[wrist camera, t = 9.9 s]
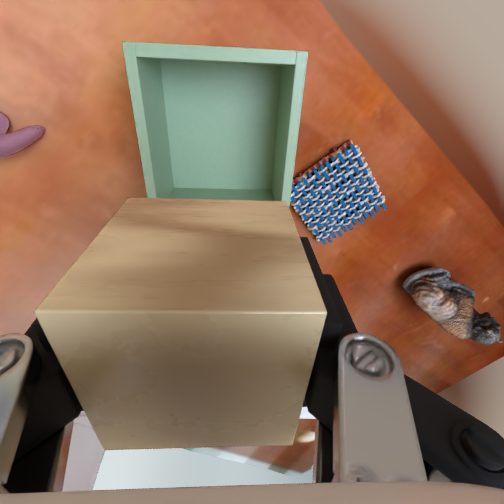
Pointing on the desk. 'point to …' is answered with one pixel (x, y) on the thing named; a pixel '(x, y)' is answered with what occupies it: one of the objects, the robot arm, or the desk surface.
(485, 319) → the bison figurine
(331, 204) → the woven mat
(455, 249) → the desk surface
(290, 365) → the birch block
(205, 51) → the chest
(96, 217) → the desk surface
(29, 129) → the video game controller
